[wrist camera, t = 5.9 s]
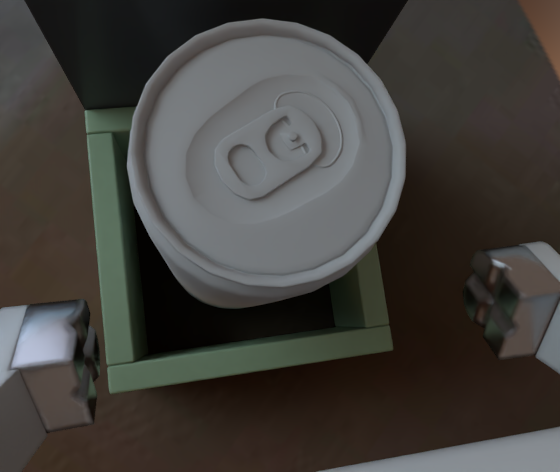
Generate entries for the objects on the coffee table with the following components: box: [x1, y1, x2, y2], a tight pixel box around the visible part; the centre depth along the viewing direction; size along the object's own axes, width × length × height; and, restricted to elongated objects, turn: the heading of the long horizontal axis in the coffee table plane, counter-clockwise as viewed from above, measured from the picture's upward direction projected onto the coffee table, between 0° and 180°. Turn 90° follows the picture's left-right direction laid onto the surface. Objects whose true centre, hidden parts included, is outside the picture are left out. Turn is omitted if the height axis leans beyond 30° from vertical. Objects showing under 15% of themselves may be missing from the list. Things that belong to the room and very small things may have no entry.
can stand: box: [25, 0, 408, 394], centre depth 14 cm, size 10×9×14 cm
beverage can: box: [127, 18, 406, 309], centre depth 14 cm, size 5×5×12 cm
